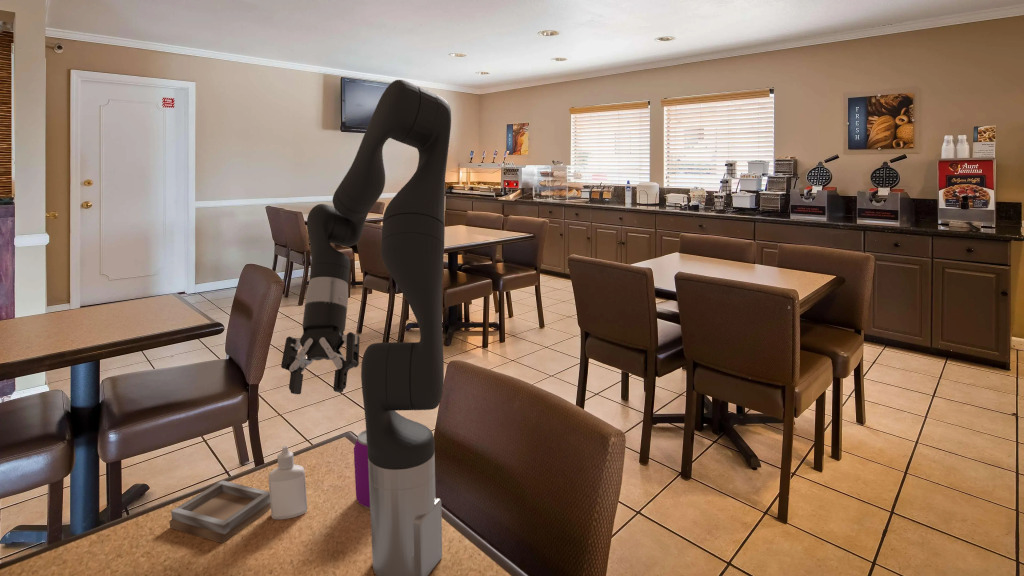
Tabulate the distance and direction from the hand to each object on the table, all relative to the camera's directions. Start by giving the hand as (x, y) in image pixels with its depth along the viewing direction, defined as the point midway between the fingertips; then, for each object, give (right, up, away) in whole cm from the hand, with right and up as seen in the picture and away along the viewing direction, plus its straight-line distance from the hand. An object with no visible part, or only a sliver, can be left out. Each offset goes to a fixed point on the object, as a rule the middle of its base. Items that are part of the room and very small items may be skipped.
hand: (316, 392), depth 100 cm
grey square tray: (-13, -19, -7) cm, 24 cm away
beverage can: (+11, -19, -1) cm, 22 cm away
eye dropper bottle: (-3, -19, -6) cm, 20 cm away
